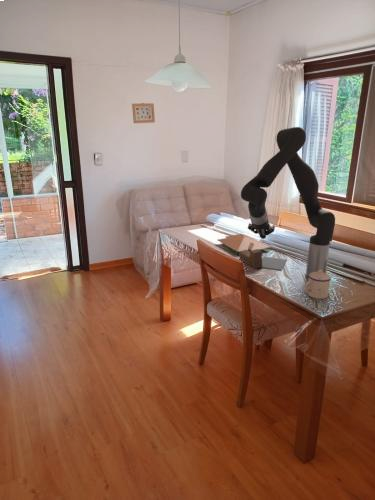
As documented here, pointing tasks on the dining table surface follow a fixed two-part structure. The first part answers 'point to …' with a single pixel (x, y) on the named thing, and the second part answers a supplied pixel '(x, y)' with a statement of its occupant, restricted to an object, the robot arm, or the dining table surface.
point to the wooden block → (252, 258)
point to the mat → (273, 263)
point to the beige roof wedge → (242, 243)
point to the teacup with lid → (318, 284)
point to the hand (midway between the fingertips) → (263, 237)
